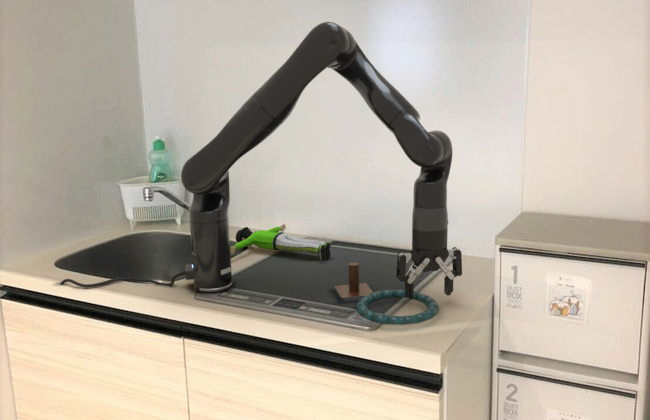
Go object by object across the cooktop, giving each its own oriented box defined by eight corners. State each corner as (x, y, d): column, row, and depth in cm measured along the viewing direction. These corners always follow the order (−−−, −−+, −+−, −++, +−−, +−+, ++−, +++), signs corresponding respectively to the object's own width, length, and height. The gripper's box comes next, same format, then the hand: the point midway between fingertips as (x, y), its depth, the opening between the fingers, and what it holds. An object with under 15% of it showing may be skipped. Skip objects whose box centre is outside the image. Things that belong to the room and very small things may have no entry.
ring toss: (341, 302, 157) (340, 270, 155) (333, 290, 164) (333, 260, 162) (375, 299, 158) (375, 267, 156) (366, 287, 166) (365, 257, 164)
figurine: (351, 248, 198) (266, 234, 213) (351, 227, 197) (266, 215, 212) (298, 277, 175) (207, 259, 190) (297, 254, 173) (205, 238, 188)
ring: (368, 333, 140) (368, 322, 139) (348, 302, 157) (347, 292, 156) (451, 324, 143) (451, 313, 143) (422, 294, 160) (422, 285, 160)
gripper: (454, 218, 152) (453, 287, 156) (392, 223, 149) (392, 293, 153) (468, 227, 145) (466, 299, 149) (403, 232, 142) (403, 305, 146)
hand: (429, 296), depth 151 cm, fingers open, 8 cm apart
